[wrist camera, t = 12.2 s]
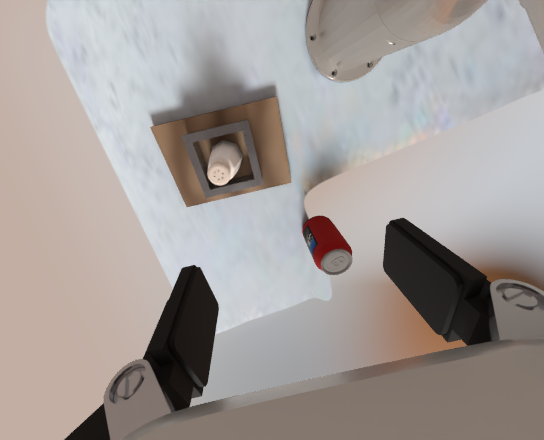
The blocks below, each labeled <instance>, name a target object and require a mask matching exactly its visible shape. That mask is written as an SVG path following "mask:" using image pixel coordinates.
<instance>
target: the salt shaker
mask: <svg viewBox="0 0 544 440" xmlns="http://www.w3.org/2000/svg"><path fill="white" fill-rule="evenodd" d="M242 157H243V154H242V153H241V151H240V149H239V148H238V146H237V144H235V143H232V142H229V141H225V140H223V141H221V142H219V143H218V144H216V145H215V146H213V148H212V151H211V155H210V159H209V164H208V172H207V175H208V178H209V180H210V181H211V182H212V183H213V184H215V185H224V184H226V183H227V182H228V181H229V180H230V179H232V178H233V177H234V176H235V174H236V173H237V171H238V169H239V168H240V165H241V161H242Z"/></svg>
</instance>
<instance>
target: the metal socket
mask: <svg viewBox="0 0 544 440" xmlns="http://www.w3.org/2000/svg"><path fill="white" fill-rule="evenodd" d="M239 131H242V132H243V136H244V140H245V144H246V148H247V152H248V155H249V159H250V163H251V167H252V171H253V174H250V175H246V176H241V177H237V178H233V179H230V180H229V181H228V182H227V183H226V184H224V185H215V184H213V183H212V182H211V181H210V180H209V178H208V175H207V172H208V167H207V164H206V162H205V159H204V156H203V153H202V151H201V148H200V145H199V142H198V141H201V140H205V139H209V138H214V137H218V136H222V135H226V134H230V133H235V132H239ZM181 137H182V140H183V142H184V145H185V147H186V150H187V152H188V155H189V157H190V160H191V162H192V165H193V167H194V170H195V172H196V175H197V177H198V180H199V183H200V185H201V188H202V190H203V193H204V195H205V198H208V197H213V196H217V195H221V194H225V193H230V192H234V191H238V190H242V189H246V188H251V187H255V186H259V185H263V180H262V175H261V171H260V167H259V163H258V158H257V154H256V150H255V146H254V142H253V138H252V133H251V129H250V125H249V121H248V119H245V120H241V121H237V122H233V123H229V124H224V125H220V126H216V127H212V128H208V129H204V130H199V131H195V132H191V133H187V134H185V135H182V136H181Z"/></svg>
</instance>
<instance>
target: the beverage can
mask: <svg viewBox="0 0 544 440" xmlns="http://www.w3.org/2000/svg"><path fill="white" fill-rule="evenodd" d="M302 232H303V236H304V238H305V241H306V243H307V246H308V248H309V250H310V253H311V255H312V257H313V259H314V262H315V264H316V266H317V267H318V268H319V269H321V270H322V271H324V272H325V273H326V274H329V275H338V274H341V273H343V272H345V271H346V270H348V269H349V267H350V266H351V264H352V250H351V247H350V246H349V244H348V243H347V242H346V240H345V239H344V238H343V236H342V235H341V234H340V232H339V231H338V229H337V228H336V227H335V225H334V224H333V223H332V222H331V220H330V219H329V218H327V217H325V216H315V217H312V218H310V219H309V220H308V221H307V222H306V223H305V224H304V226H303V231H302Z"/></svg>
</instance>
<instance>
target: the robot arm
mask: <svg viewBox="0 0 544 440" xmlns="http://www.w3.org/2000/svg"><path fill="white" fill-rule="evenodd" d="M486 1H487V0H313V1H312V3H311V6H310V9H309V13H308V17H307V23H306V43H307V48H308V53H309V55H310V58H311V60H312V62H313V64H314V65H315V67H316V69H317V70H318V71H319V72H320V73H321V74H322V75H323V76H325V77H326V78H328V79H330V80H333V81H336V82H349V81H353V80H356V79H358V78H360V77H362V76H364V75H366V74H367V73H368V72H370V71H371V70H372V69H373V68H374V67H375V66H376V65H377V64H378V62H379V61H380V60H381V58H382V57H383V56H386V55H388V54H391V53H394V52H396V51H399V50H401V49H404V48H406V47H409V46H412V45H414V44H417V43H419V42H422V41H424V40H427V39H430V38H432V37H435V36H437V35H440V34H442V33H444V32H447V31H449V30H451V29H452V28H454V27H456V26H458V25H459V24H461V23H462V22H464V21H465V20H466V19H468V18H469V17H470V16H471V15H472V14H474V13H475V12H476V11H477V10H478V9H479V8H480V7H481V6H482V5H483V4H484V3H486ZM519 2H520V4H521V6H522V7H523V8H525V10H526V12H527V15H528V17H529V20H530V22H531V24H532V27H533V29H534V32H535V34H536V36H537V39H538V41H539V44H540V46H541V48H542V51H543V53H544V0H519ZM310 37H313V41H312V40H311V39H310ZM367 64H368V65H369V66H367ZM332 72H334V75H333V76H332ZM384 248H385V249H384V260H383V268H384V271H385V272H386V274H387V275H388V276H389V277H390V279H391V280H392V281H393V282H394V283H395V285H396V286H397V287H398V288H399V289H400V291H401V292H402V293H403V294H404V295H405V297H406V298H407V299H408V300H409V301H410V303H411V304H412V305H413V306H414V308H415V309H416V310H417V311H418V312H419V314H420V315H421V316H422V317H423V318H424V319H425V321H426V322H427V323H428V324H429V325H430V327H431V328H432V329H433V330H434V331H435V333H437V334H439V335H442V336H443V338H444V339H445V340H446V341H447V342H452V341H456V340H461V339H462V341H463V342H464V343H465V344H466V345H467V346H465V347H460V348H454V349H449V350H444V351H439V352H434V353H430V354H425V355H420V356H415V357H411V358H406V359H401V360H397V361H392V362H387V363H382V364H378V365H373V366H369V367H364V368H359V369H355V370H350V371H346V372H341V373H336V374H332V375H327V376H323V377H318V378H313V379H309V380H304V381H300V382H296V383H292V384H287V385H282V386H278V387H273V388H268V389H265V390H260V391H255V392H251V393H246V394H242V395H237V396H233V397H229V398H225V399H221V400H217V401H212V402H208V403H204V404H200V405H196V406H192V407H189V406H190V402H191V398H195V397H200V396H202V393H203V387H204V386H206V385H207V382H208V376H209V370H210V363H211V357H212V350H213V343H214V336H215V331H216V324H217V317H218V311H219V306H218V302H217V300H216V298H215V296H214V294H213V292H212V290H211V288H210V286H209V284H208V282H207V280H206V278H205V276H204V274H203V272H202V270H201V268H200V267H196V266H195V265H192V266H188V267H184V268H182V269H181V272H180V274H179V277H178V279H177V281H176V284H175V286H174V288H173V291H172V293H171V296H170V298H169V300H168V301H167V303H166V305H165V308H164V310H163V312H162V315H161V317H160V320H159V322H158V324H157V327H156V329H155V331H154V334H153V336H152V339H151V341H150V343H149V346H148V348H147V351H146V353H145V355H144V357H143V359H139V360H135V361H133V362H130V363H129V364H128V365H126V366H124V367H123V368H122V369H121V370H120V371H119V372H118V373H117V374H116V375H115V376H114V378H113V379H112V380H111V382H110V383H109V385H108V387H107V389H106V391H105V394H104V403H103V404H102V405H101V406H100V407H99V408H98V409H97V410H96V411H95V412H94V413H93V414H92V415H91V416H89V417H88V418H87V419H86V420H85V421H84V422H83V423H82V424H81V425H80V426H79V427H77V428H76V429H75V430H74V431H73V432H72V433H71V434H70V435H69V436H68V437H67V438H66V439H65V440H544V291H542V290H540V289H538V288H536V287H534V286H532V285H529V284H527V283H523V282H520V281H516V280H509V279H503V280H502V279H500V280H496V281H494V282H493V283H491V282H489V281H488V280H487V279H486V278H487V276H485V275H484V274H483V273H481V272H480V271H478V270H477V269H476V268H474V267H473V266H471V265H470V264H469V263H467V262H465V261H464V260H463V259H461V258H460V257H459V256H457V255H456V254H454V253H453V252H451V251H450V250H449V249H447V248H446V247H445V246H443V245H441V244H440V243H439V242H437V241H436V240H435V239H433V238H432V237H430V236H429V235H428V234H426V233H425V232H423V231H422V230H421V229H419V228H418V227H416V226H415V225H413V224H412V223H411V222H409V221H408V220H406V219H405V218H400V219H396V220H391V221H390V222H389V224H388V225H387V226H386V234H385V247H384Z"/></svg>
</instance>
